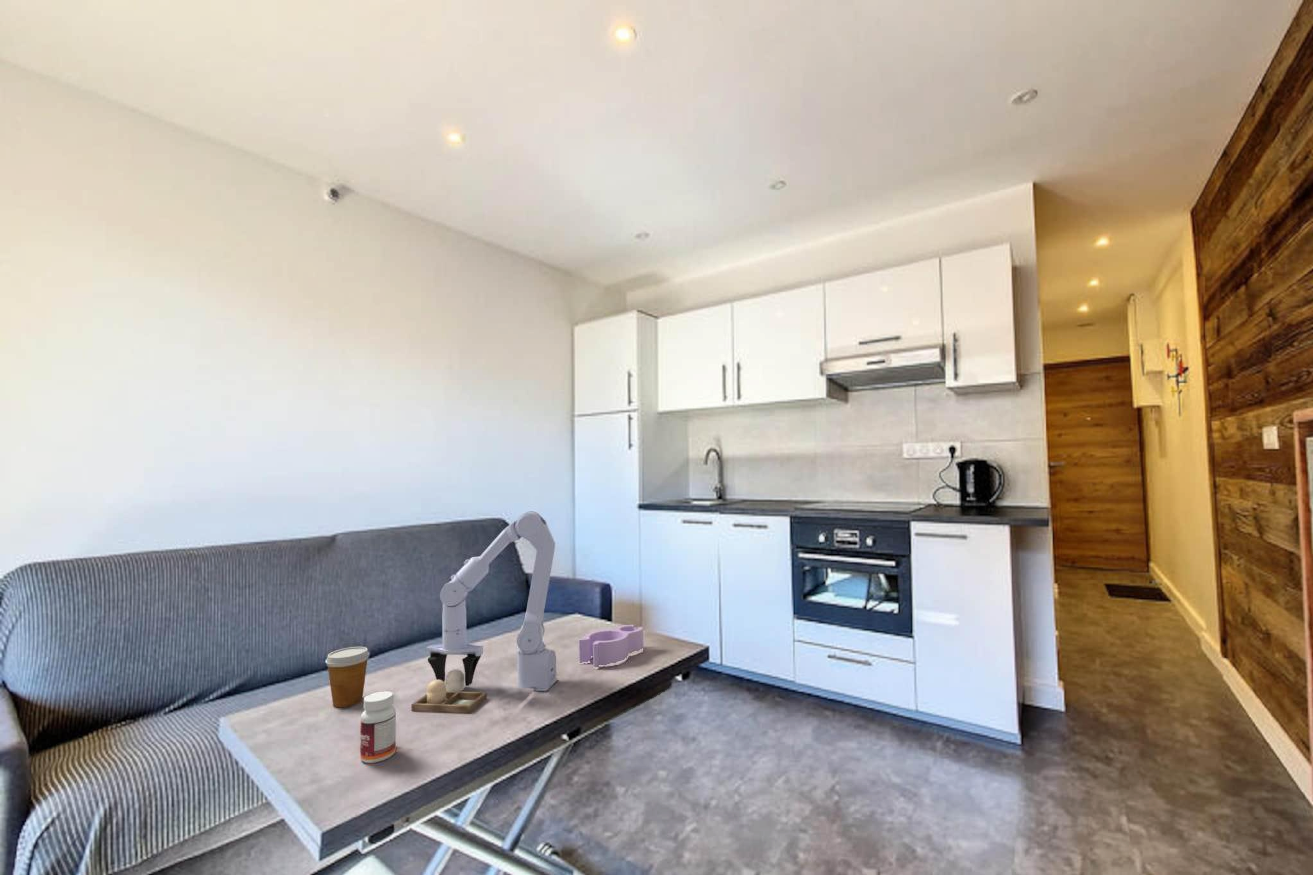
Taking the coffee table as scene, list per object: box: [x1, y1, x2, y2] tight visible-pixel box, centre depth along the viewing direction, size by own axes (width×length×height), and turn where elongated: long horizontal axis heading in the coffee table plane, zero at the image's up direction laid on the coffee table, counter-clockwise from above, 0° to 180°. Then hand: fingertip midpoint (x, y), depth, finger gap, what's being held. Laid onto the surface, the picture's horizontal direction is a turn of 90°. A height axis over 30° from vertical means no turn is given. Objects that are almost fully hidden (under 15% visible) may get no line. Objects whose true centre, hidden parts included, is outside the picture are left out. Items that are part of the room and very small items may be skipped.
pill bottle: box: [359, 690, 397, 764], centre depth 106 cm, size 6×6×11 cm
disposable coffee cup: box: [325, 646, 371, 708], centre depth 133 cm, size 10×10×12 cm
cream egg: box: [445, 668, 466, 692], centre depth 137 cm, size 4×4×6 cm
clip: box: [578, 624, 644, 668], centre depth 159 cm, size 20×12×7 cm, turn 135°
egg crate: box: [410, 691, 488, 715], centre depth 127 cm, size 14×8×2 cm, turn 80°
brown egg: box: [426, 679, 446, 704], centre depth 128 cm, size 4×4×6 cm
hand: (454, 683), depth 137 cm, fingers open, 7 cm apart
